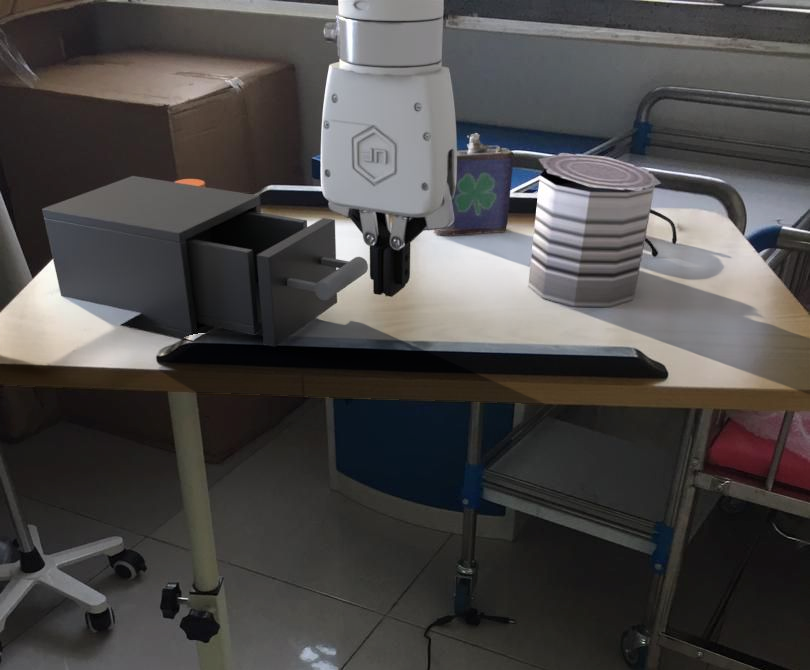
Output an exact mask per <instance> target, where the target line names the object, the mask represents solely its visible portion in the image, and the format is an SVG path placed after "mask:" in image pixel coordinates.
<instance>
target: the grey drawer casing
mask: <svg viewBox="0 0 810 670" xmlns="http://www.w3.org/2000/svg"><path fill="white" fill-rule="evenodd" d="M41 211H42V216H43V219H44V220H43V221H44V224H45V229H46V234H47V237H48V242H49V247H50V251H51V256H52V261H53V265H54V269H55V275H56V280H57V283H58V288H59V293H60V297H64V298H68V299H73V300H77V301H83V302H87V303H93V304H95V305H96V304H97V305H101V306H105V307H111V308H115V309H119V310H124V311H129V312H133V313H138V314H137V315H135V316H133V317H131V318H130V319H128V320H126V321H124V322H123V323H120V326H121V327H127V328H131V329H136V330H140V331H145V332H148V333H154V334H158V335H162V336H167V337H172V338H175V339H180V340H184V339H183V338H184V337H186V336H189V335H193V334H198V333H206V334H208V333H209V332H211V331H212V330H214V329H215V328H217V327H214V326H209V325H205V324H200V323H196V318H195V310H194V302H193V294H192V286H191V278H190V270H189V262H188V254H187V246H186V241H185V240H187V239H189V238H191V237H193V236H195V235H197V234H199V233H201V232H203V231H205V230H207V229H210V228H212V227H214V226H216V225H218V224H220V223H222V222H224V221H226V220H228V219H230V218H232V217H235V216H237V215H239V214H241V213H243V212H245V211H254V212H260V213H262V208H261V196H260V195H258V194H257V195H256V194H252V193H247V192H239V191H233V190H227V189H219V188H214V187H208V186H207V187H206V186H205V187H201V186H195V185H188V184H182V183H175V181H168V180H163V179H155V178H150V177H143V176H137V175H131V176H129V177H125V178H122V179H121V180H117V181H115V182H112V183H109V184H107V185H104V186H101V187H98V188H96V189H93V190H90V191H87V192H84V193H82V194H78V195H76V196H74V197H71V198H68V199H66V200H62V201H60V202H56V203H54V204H51V205H48V206H45V207H42V209H41Z"/></svg>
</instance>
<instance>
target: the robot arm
mask: <svg viewBox="0 0 810 670" xmlns="http://www.w3.org/2000/svg"><path fill="white" fill-rule="evenodd" d="M444 2H445V1H444V0H337V3H338V4H337V5H338V14H337V15H336V17H335V18H336V21H334V22H329V21H328V22H326V23H325V24H324V28H323V38H324V41H325V43H327V44H333V45H334V46H336V52H337V54H336V55H337V56H338V57H339V61H337V62H333V63H330V64H329V66H328V71H327V77H326V82H325V90H324V97H323V105H322V106H323V107H322V117H321V130H320V131H321V133H320V134H321V136H320V186H321V192H322V195H323V197H324V198H325V199H326V200H327V201H328V204H327V206H328V209H329V210H330V211H331V212H332V213H335V214H337V215H339V216H341V217H344V218H347V219H349V220H351V221H352V223H353V224H354V226H356V228H357V229H358V230H359V232H360V233H361V234H362V239H363V242H364V243H365V245H366V246H368V247H369V277H370V280H372V285H373V286H372V287H373V288H372V289H373V291H372V292H373V294H374V295H378V296H379V295H380V296H382V295H384V296H385V297H389V298H393V297H394V296H396V295H397V294H398V293H399V292H401V290H403V289H404V288H405V287H406V285H407V284H408V283H409V281H410V277H411V243H412V242H413V241H414V240H416V238H417V237H418V236H420V234H421V233H423V232H424V231H425V232H426V231H434V230H437V229H445V228H447V227H448V226H450V225H451V224H452V223H453V222H454V212H453V207H452V201H451V200H452V199H453V198H454V195H455V190H456V179H457V151H458V145H457V144H458V142H457V141H458V140H457V139H458V138H457V121H456V120H457V119H456V107H455V98H454V90H453V84H452V77H451V72H450V68H449V67H448V66H443V41H444V39H443V38H444V9H445V6H444V4H445V3H444ZM390 215H392V221H390Z"/></svg>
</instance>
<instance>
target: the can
mask: <svg viewBox="0 0 810 670" xmlns="http://www.w3.org/2000/svg"><path fill="white" fill-rule="evenodd" d="M537 160H538V162H539V163H540V164H541V166H542V167H543V168H544V170H543V171H542V172H541V173H540V175H539V181H538V191H537V201H536V210H535V219H534V228H533V236H532V247H531V256H530V264H529V265H530V266H529V275H528V284H527V287H528V288H529V289H530V290H532V291H533V292H534V293H535V294H537V296H538V297H540V298H541V299H543V300H548V301H549V302H550V301H551V302H554V303H559V304H562V305H566V306H570V307H572V308H573V307H574V308H611V307H615V306H618V305H621V304H625V303H628V302H631V301H633V300H634V297H635V293H636V290H637V286H638V280H639V274H640V270H641V264H642V263H641V262H642V258H643V252H644V248H645V247H644V246H645V243H646V242H645V238H646V235H647V230H648V226H649V225H648V224H649V220H650V214H651V213H650V209H651V210H652V203H653V196H654V191H655V186H658V185H660V184H662V182H661V181H660V180H659V179H658V178H657V177H656V176H655V175H654V174H653V173H652V172H650V170H649V169H648V168H645V167H642V166H638V165H636V164H632V163H628V162H626V161H622V160H618V159H616V158H612V157H610V156H605V155H604V156H602V155H591V154H582V153H569V152H560V153H556V154H552V155H548V156H544V157H541V158H538V159H537Z"/></svg>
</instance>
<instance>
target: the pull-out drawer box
mask: <svg viewBox="0 0 810 670" xmlns="http://www.w3.org/2000/svg"><path fill="white" fill-rule="evenodd" d="M185 241H186V246H187V254H188V262H189V270H190V278H191V286H192V294H193V302H194V310H195V318H196V323H200V324H205V325H209V326H214V327H216V328H219V329H224V330H228V331H233V332H238V333H242V334H248V335H251V336H256V335H258V334H259V333H260V332H262V339H263V345H265V346H269V347H273V348H274V347H275V348H276V347H278V346H279V345H280V344H282V343H283V342H285V341H287V339H289V338H290V337H292V336H293V335H294V334H295V333H297V332H299V330H301V329H302V328H305V327H306V326H307V325H308V324H310V323H311V322H312V321H314V320H315V319H317V318H318V317H319V316H321V315H322V314H323V313H325V312H327V311H328V310H329V309H330V308H332V307H333V306H335V305H336V304H337V303H338V293H340V292H341V291H343V290H344V289H345V288H347V287H348V286H350V285H351V284H353V283H354V282H355V281H356V280H358V279H359V278H361V277H362V276H364V275H365V274H366V273H367V272H368V270H369V264H368V261H367V260H366V259H365V258H364V257H362V256H355V257H354V258H352V259H351V260H344V259H337V249H336V248H337V246H336V243H337V242H336V241H337V240H336V219H333V218H326V217H323V218H321V219H319V220H317V221H315V222H314V223H312V224H310V225H308V220H307V219H301V218H296V217H291V216H283V215H278V214H272V213H266V212H265V213H264V212H261V213H260V212H254V211H245V212H243V213H241V214H239V215H237V216H235V217H232V218H230V219H228V220H226V221H224V222H222V223H220V224H218V225H216V226H214V227H212V228H210V229H207V230H205V231H203V232H201V233H199V234H197V235H195V236H193V237H191V238H189V239H187V240H185Z"/></svg>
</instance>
